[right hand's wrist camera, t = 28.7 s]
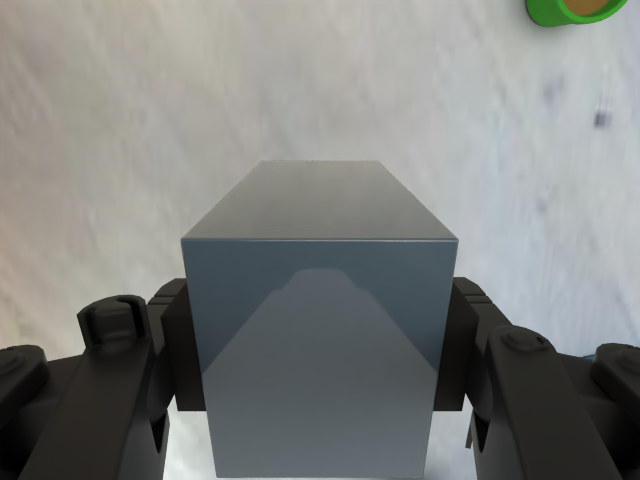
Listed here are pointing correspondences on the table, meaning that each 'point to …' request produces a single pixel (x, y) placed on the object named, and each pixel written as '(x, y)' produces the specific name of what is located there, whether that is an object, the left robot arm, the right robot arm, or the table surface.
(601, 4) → the potted flower
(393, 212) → the block
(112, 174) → the table surface
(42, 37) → the table surface
